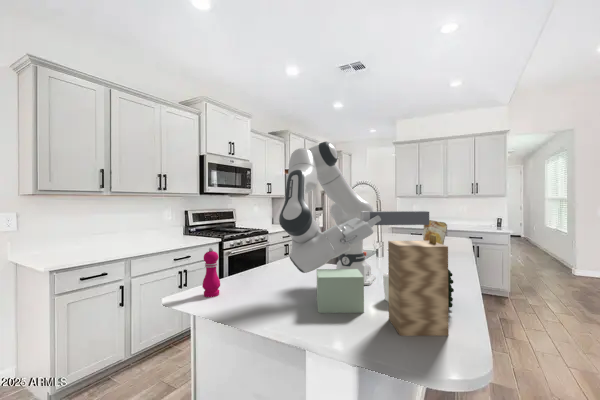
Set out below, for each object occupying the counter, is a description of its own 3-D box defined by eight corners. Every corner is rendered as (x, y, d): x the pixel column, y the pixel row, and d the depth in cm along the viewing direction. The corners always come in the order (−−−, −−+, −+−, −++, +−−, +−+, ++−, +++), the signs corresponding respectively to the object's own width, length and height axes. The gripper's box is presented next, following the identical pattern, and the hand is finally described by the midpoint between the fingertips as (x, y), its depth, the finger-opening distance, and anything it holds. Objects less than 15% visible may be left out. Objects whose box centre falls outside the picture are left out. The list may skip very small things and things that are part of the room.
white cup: (401, 305, 114) (401, 278, 114) (380, 301, 118) (380, 275, 118) (406, 299, 121) (406, 273, 121) (386, 295, 125) (386, 271, 125)
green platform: (318, 312, 107) (318, 277, 107) (316, 301, 119) (316, 269, 119) (364, 312, 107) (363, 277, 107) (357, 300, 119) (357, 268, 119)
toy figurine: (461, 318, 105) (442, 290, 129) (462, 265, 103) (443, 246, 127) (431, 316, 107) (419, 289, 131) (432, 264, 105) (419, 246, 129)
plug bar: (363, 225, 93) (363, 211, 93) (360, 224, 97) (360, 211, 97) (429, 224, 93) (429, 211, 92) (424, 223, 97) (424, 210, 97)
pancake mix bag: (429, 271, 165) (429, 219, 165) (449, 280, 146) (448, 222, 146) (417, 271, 165) (417, 219, 164) (435, 281, 146) (435, 222, 145)
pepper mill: (223, 293, 130) (223, 246, 130) (213, 298, 124) (213, 249, 123) (209, 291, 133) (208, 245, 133) (198, 296, 126) (198, 248, 126)
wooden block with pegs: (400, 335, 89) (399, 238, 89) (388, 319, 101) (388, 233, 101) (448, 335, 89) (448, 237, 89) (431, 319, 101) (430, 232, 101)
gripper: (337, 234, 85) (380, 209, 84) (330, 227, 105) (365, 206, 105) (349, 254, 85) (392, 229, 84) (340, 243, 105) (374, 222, 105)
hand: (377, 216), depth 95 cm, fingers closed on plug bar, 4 cm apart
